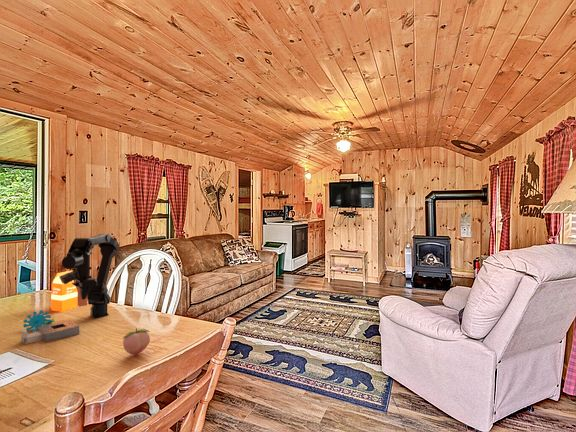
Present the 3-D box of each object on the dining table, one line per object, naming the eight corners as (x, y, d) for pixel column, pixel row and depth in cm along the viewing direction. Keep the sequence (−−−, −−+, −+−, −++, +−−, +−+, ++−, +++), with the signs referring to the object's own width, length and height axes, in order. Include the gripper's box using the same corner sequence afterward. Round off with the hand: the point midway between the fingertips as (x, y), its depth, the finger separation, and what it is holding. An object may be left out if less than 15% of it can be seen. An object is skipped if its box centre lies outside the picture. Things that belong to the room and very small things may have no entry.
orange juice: (51, 310, 166) (51, 272, 166) (67, 305, 175) (67, 269, 174) (62, 312, 164) (62, 274, 164) (77, 307, 173) (78, 271, 172)
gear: (18, 330, 135) (27, 309, 141) (20, 336, 138) (29, 315, 145) (49, 330, 139) (57, 310, 146) (50, 336, 143) (58, 316, 149)
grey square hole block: (69, 327, 144) (69, 319, 144) (79, 333, 136) (79, 325, 136) (37, 334, 135) (37, 326, 135) (45, 342, 127) (45, 334, 127)
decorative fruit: (142, 347, 125) (143, 322, 125) (153, 353, 120) (153, 327, 120) (118, 355, 118) (118, 328, 118) (127, 362, 113) (128, 334, 112)
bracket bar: (39, 337, 132) (39, 325, 132) (42, 339, 130) (42, 327, 130) (21, 341, 127) (21, 329, 127) (24, 344, 125) (24, 332, 125)
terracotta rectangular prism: (84, 303, 147) (84, 284, 147) (87, 305, 145) (87, 285, 145) (77, 305, 145) (77, 285, 145) (79, 306, 143) (79, 287, 143)
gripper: (55, 264, 144) (55, 298, 144) (69, 270, 133) (68, 306, 133) (82, 261, 153) (82, 293, 153) (98, 266, 141) (97, 301, 141)
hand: (82, 298), depth 145 cm, fingers closed on terracotta rectangular prism, 3 cm apart
